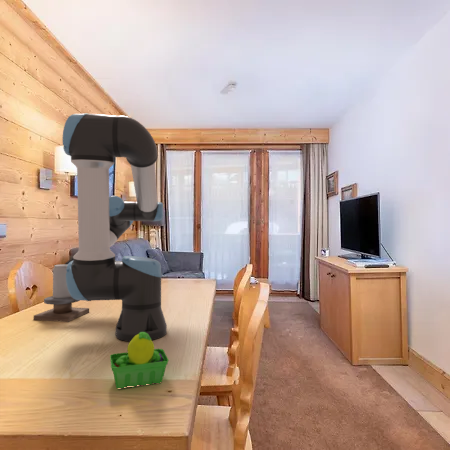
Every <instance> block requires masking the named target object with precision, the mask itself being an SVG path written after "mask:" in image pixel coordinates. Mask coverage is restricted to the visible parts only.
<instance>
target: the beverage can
mask: <svg viewBox="0 0 450 450" xmlns="http://www.w3.org/2000/svg"><path fill="white" fill-rule="evenodd" d="M67 265H68V264H65V263H63V264H55V265H53V266H54V267H53V269H52V296H53V297H54V298H55V299H67V298H70V297H71V295H70V294H69V291H68V288H67V284H66V273H67V271H66V269H67Z"/></svg>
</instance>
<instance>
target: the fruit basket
mask: <svg viewBox="0 0 450 450" xmlns="http://www.w3.org/2000/svg"><path fill="white" fill-rule="evenodd" d="M109 359H110V368H111V371H112V372H113V377H114V382H115V386H116V389H117V388H124V387H127V386H137V385H146V384H151V385H153V384H152V383H159V384H161V383H160V382H162V383H163V379H164V376H165V375H164V374H165V371H166V368H167V365H168V362H169V358H168V356H167V354H166V352H165V351H164V349H162V348H155V344H154V342H153V340H151V338H150V336H149V334H147V333H146V332H140V333H139V334H137V335H136V336H135V337H134V338H133V339H132V340H131V341H129V343H128V345H127V352H120V353H112V354H110V356H109ZM146 386H147V385H146Z"/></svg>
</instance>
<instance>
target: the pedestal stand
mask: <svg viewBox="0 0 450 450" xmlns="http://www.w3.org/2000/svg"><path fill="white" fill-rule="evenodd" d="M80 301H81V300H75V299H73V298H72V296H71V297H70V298H67V299H55V298H54V297H53V295H52V296H48V297H45V298H43V303H44V304H46V305H52V306H53V307H52V308H50V309H47V310H45V311H43V312H42V311H41V312H40V313H36V314H33V320H34V321H45V322H46V321H48V322H64V323H65V322H66V323H69V322H70V321H73V320H75V319H77V318H80V317H82V316H83V315H85V314H88V313H90V308H89V307H73V304H74V303H77V302H80Z"/></svg>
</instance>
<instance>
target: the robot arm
mask: <svg viewBox="0 0 450 450" xmlns="http://www.w3.org/2000/svg"><path fill="white" fill-rule="evenodd" d="M155 141H156V140H154V137H153V136H152V135H151V132H150V131H149V130H148V129H147V128H146V126H144V125H143V124H142V123H140V121H138V120H136V119H134V118H133V117H129V116H127V115H126V116H125V115H114V114H113V115H109V114H101V113H100V114H99V113H98V114H97V113H89V112H87V113H74V114H70V115H69V116H68V117H67V118H66V120H65V123H64V125H63V131H62V145H63V147H62V148H63V151H64V153H65V154H66V155H67V156H69V157H70V161H71V163H72V165H74V166H75V167H76V178H77V179H76V180H77V182H76V183H77V187H76V188H77V222H78V226H77V227H78V229H77V232H78V250H77V252H76V253H75V254H74V255H73V256H72V257H71V258H70V259H69V260H67V261H66V262H65V263H64V264H68V265H67V269H66V271H67V273H66V284H67V288H68V291H69V294H70V295H71V296H72V298H73V299H75V300H80V301H86V302H92V301H93V302H94V301H121V311H120V314H119V318H118V320H117V323H116V325H115V337H116V338H117V340H121V341H124V342H130V341H131V340H132V339H133V338H134V337H135V336H136V335H137V334H139V333H140V332H146V333H147V334H149V336H150V338H151V340H152V341H154V340H157V339H160V338H162V337H164V336H165V335H166V334H167V332H168V331H167V330H168V329H167V327H168V326H167V322H166V319H165V316H164V312H163V310H162V277H163V274H162V264H161V262H160V261H159V260H157V259H154V258H150V257H146V256H145V257H144V256H135V255H134V256H133V255H125V256H123V257H122V259H121V260H116V254H115V252H114V251H112V250H111V249H110V247H112V246H113V245H115V244H116V242H117V241H118V240H119V239H120V237H122V235H124V234H125V232H126V231H127V230H128V229H129V228H130V227H131V226H132V224H133V223H134V222H161V221H163V220H164V203H163V202H159V201H158V193H157V192H158V191H157V176H156V175H157V174H156V162H157V161H158V156H159V155H158V148H157V147H158V146H157V145H156V142H155ZM115 158H126V161H127V162H128V164H129V165H130V167H131V174H132V180H133V187H134V192H135V193H134V194H135V198H136V201H124V200H123V198H122V197H120V196H118V195H111V196H110V169H111V168H112V166H114V164H115Z"/></svg>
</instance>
